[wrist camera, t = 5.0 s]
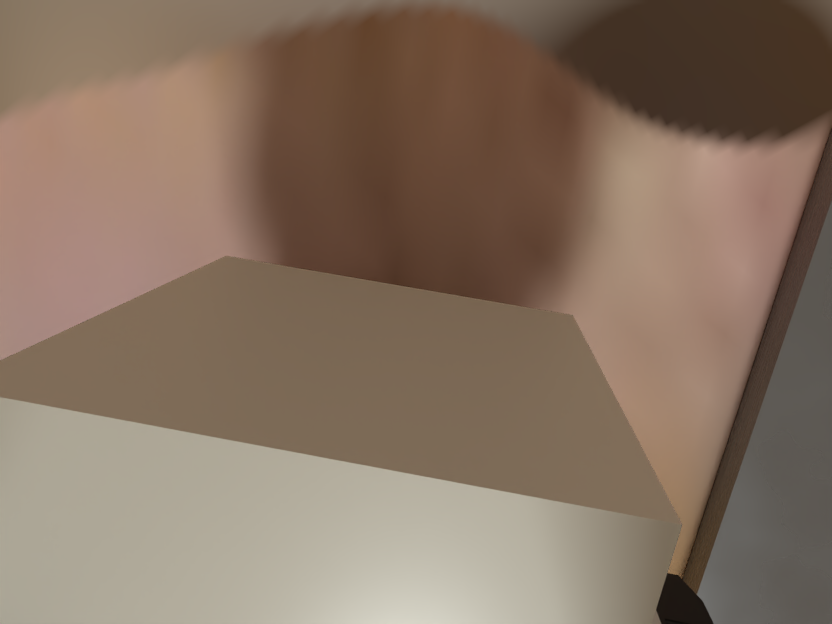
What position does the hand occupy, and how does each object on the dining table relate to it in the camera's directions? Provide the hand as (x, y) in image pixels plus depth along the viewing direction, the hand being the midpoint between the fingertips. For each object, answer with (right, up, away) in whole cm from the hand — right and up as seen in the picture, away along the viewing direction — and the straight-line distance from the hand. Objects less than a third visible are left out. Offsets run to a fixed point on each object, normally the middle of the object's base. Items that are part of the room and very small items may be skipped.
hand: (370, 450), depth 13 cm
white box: (0, 0, 0) cm, 0 cm away
